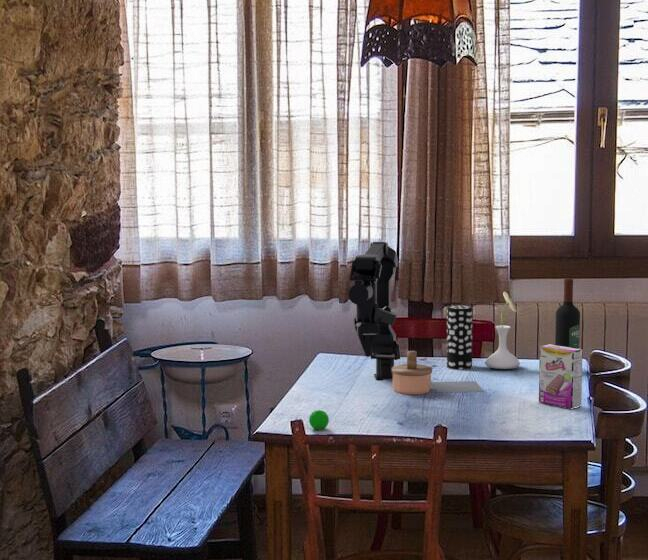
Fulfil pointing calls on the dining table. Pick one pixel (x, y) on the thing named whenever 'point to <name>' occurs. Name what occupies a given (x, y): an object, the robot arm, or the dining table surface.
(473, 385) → the mat
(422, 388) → the bowl
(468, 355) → the spotted tube
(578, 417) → the dining table surface
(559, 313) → the wine bottle
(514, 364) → the flower in vase
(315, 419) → the green ball
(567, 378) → the candy bar box
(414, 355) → the lid
